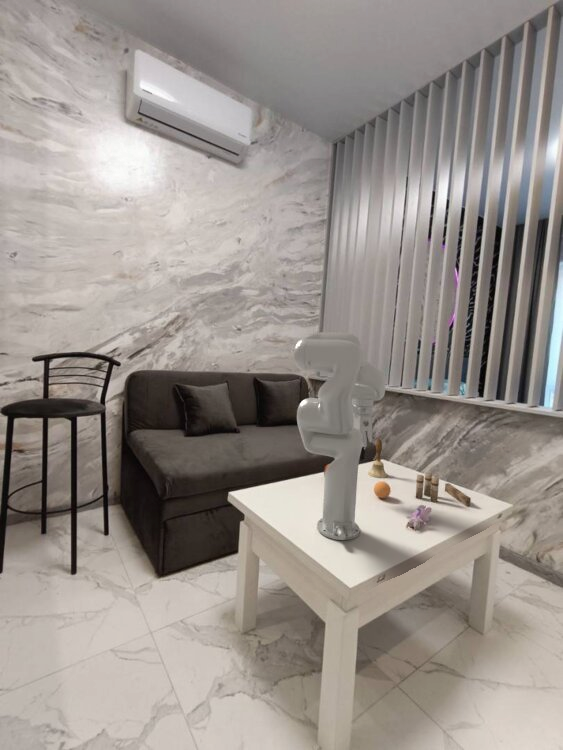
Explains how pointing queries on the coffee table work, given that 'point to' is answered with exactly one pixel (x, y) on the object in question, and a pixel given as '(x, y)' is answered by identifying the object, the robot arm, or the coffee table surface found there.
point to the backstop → (457, 494)
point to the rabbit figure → (419, 517)
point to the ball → (382, 489)
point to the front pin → (419, 486)
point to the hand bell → (378, 464)
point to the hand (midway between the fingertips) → (359, 458)
